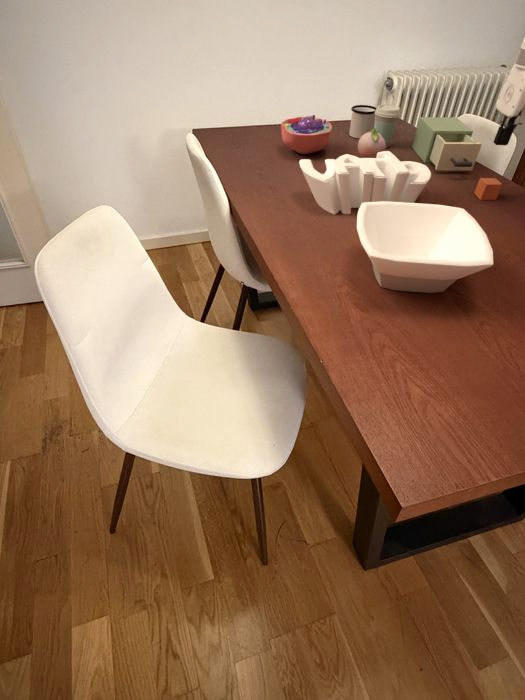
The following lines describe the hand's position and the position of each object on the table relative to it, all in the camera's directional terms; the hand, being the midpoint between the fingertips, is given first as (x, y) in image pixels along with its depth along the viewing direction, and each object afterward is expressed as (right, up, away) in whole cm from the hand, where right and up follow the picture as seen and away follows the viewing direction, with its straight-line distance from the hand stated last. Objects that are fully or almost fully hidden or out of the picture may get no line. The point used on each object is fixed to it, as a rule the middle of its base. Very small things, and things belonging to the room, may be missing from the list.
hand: (500, 143), depth 106 cm
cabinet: (-3, +12, +31) cm, 34 cm away
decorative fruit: (-28, +7, +26) cm, 39 cm away
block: (0, -11, +8) cm, 13 cm away
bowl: (-32, -38, -20) cm, 53 cm away
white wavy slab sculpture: (-36, -13, +5) cm, 38 cm away
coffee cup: (-21, +18, +37) cm, 46 cm away
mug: (-26, +27, +46) cm, 59 cm away
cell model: (-48, +14, +32) cm, 60 cm away
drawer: (-3, +5, +22) cm, 23 cm away
